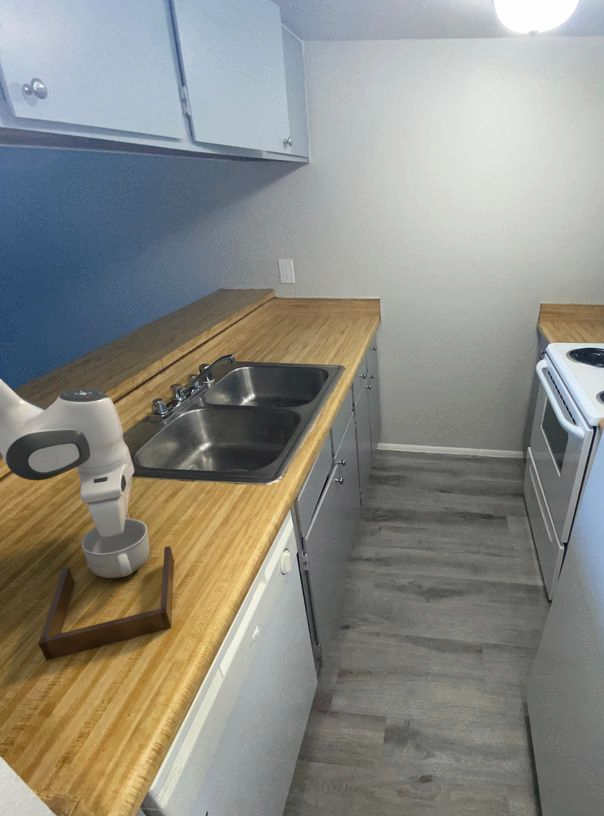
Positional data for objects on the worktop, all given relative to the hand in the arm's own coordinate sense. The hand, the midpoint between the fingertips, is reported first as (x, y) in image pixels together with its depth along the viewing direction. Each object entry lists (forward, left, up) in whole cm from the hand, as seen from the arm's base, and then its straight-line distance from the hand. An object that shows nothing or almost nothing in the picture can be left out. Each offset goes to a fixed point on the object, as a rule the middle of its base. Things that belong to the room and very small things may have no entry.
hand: (124, 525), depth 97 cm
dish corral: (0, -17, -4) cm, 18 cm away
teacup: (0, -9, -5) cm, 10 cm away
